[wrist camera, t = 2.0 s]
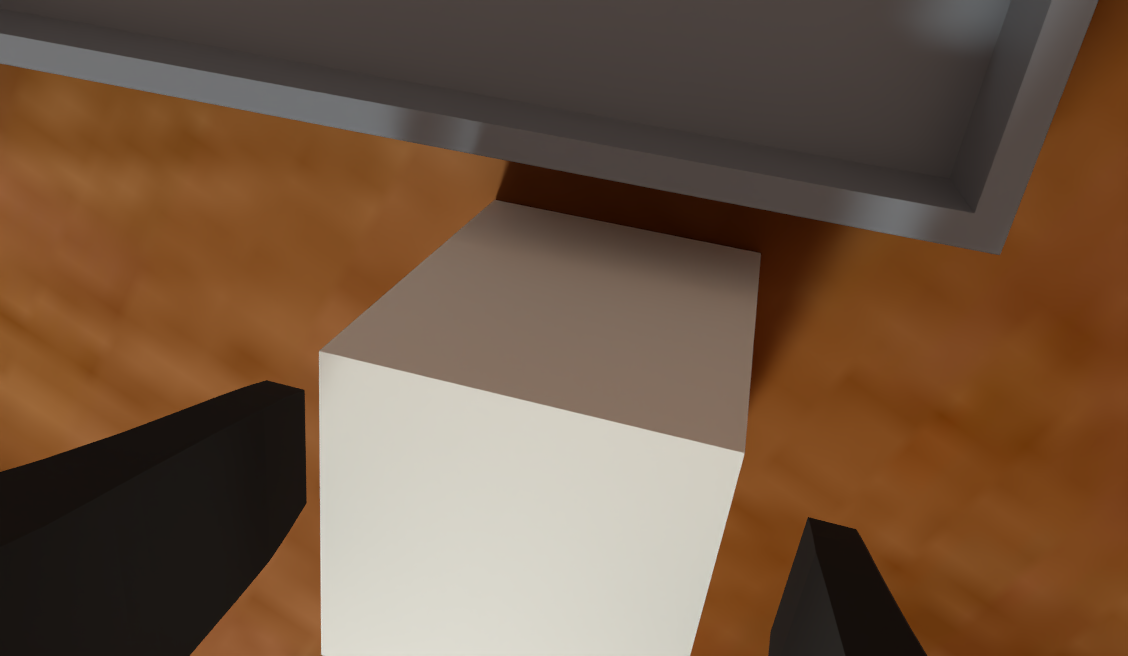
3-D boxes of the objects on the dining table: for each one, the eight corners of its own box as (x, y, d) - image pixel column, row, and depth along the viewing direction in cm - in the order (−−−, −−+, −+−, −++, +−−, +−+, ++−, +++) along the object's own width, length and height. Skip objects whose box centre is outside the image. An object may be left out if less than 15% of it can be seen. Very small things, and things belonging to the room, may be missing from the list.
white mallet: (494, 199, 15) (319, 351, 10) (760, 253, 15) (744, 452, 9) (451, 671, 21) (323, 947, 15) (642, 728, 20) (585, 1043, 14)
